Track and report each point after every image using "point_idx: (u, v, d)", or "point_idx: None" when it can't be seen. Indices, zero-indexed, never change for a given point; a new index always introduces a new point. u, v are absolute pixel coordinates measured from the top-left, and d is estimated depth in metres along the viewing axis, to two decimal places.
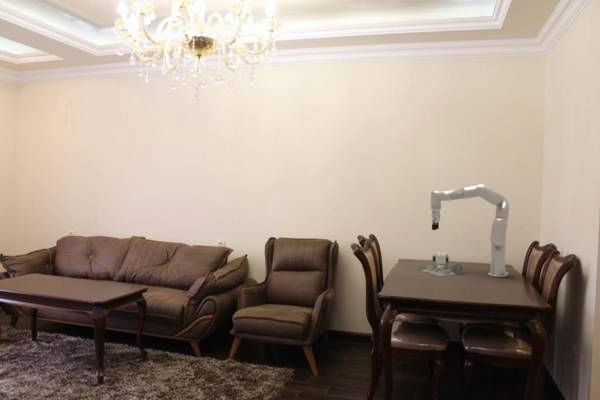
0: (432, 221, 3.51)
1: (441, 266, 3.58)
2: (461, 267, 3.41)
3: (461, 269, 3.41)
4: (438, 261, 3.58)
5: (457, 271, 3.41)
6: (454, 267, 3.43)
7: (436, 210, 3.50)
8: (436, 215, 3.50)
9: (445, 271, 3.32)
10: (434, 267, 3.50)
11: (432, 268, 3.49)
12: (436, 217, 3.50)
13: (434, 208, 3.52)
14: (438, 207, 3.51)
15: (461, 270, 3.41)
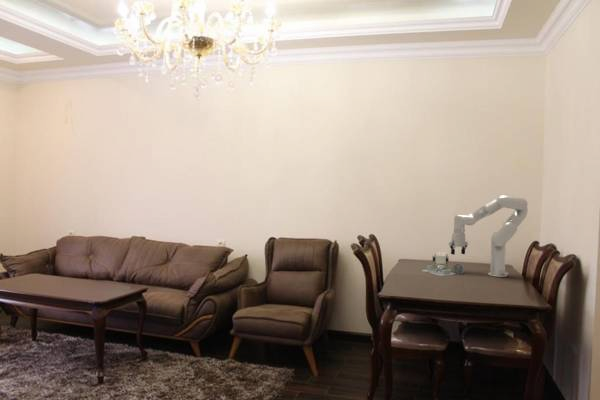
0: (464, 245, 3.44)
1: (441, 266, 3.58)
2: (461, 267, 3.41)
3: (461, 269, 3.41)
4: (438, 261, 3.58)
5: (457, 271, 3.41)
6: (454, 267, 3.43)
7: None
8: None
9: (445, 271, 3.32)
10: (434, 267, 3.50)
11: (432, 268, 3.49)
12: None
13: None
14: None
15: (461, 270, 3.41)
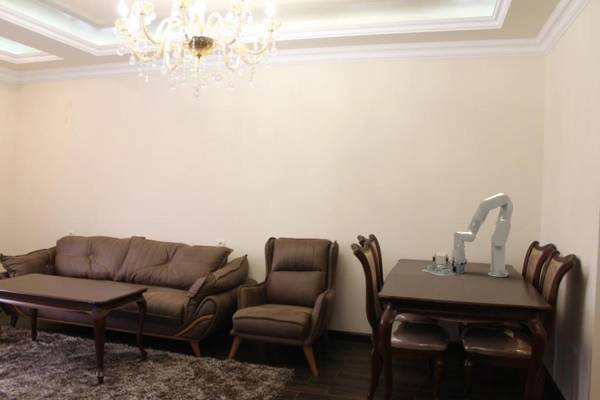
0: (464, 262, 3.44)
1: (441, 266, 3.58)
2: (461, 267, 3.41)
3: (461, 269, 3.41)
4: (438, 261, 3.58)
5: (457, 271, 3.41)
6: None
7: None
8: None
9: (445, 271, 3.32)
10: (434, 267, 3.50)
11: (432, 268, 3.49)
12: None
13: None
14: None
15: (461, 270, 3.41)
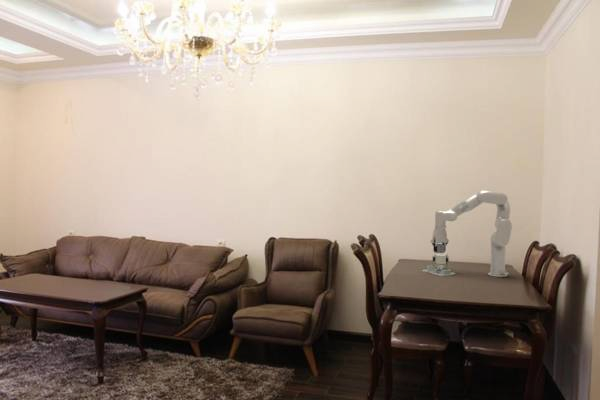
0: (445, 242, 3.42)
1: (441, 266, 3.58)
2: (442, 247, 3.38)
3: (441, 249, 3.38)
4: (438, 261, 3.58)
5: (438, 251, 3.39)
6: None
7: None
8: None
9: (445, 271, 3.32)
10: (434, 267, 3.50)
11: (432, 268, 3.49)
12: None
13: None
14: None
15: (442, 250, 3.39)
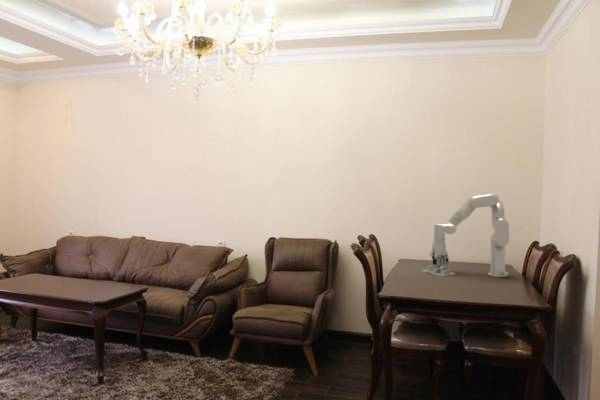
0: (444, 255, 3.42)
1: (441, 266, 3.58)
2: (441, 259, 3.39)
3: (441, 262, 3.39)
4: None
5: (437, 263, 3.39)
6: None
7: None
8: None
9: (445, 271, 3.32)
10: (434, 267, 3.50)
11: (432, 268, 3.49)
12: None
13: None
14: None
15: (441, 262, 3.39)
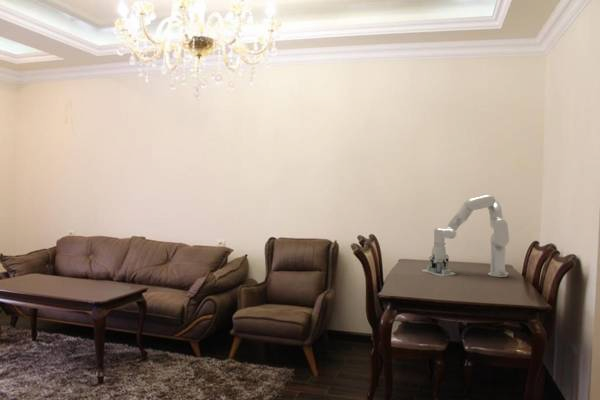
0: (445, 259, 3.43)
1: None
2: (441, 265, 3.39)
3: (441, 267, 3.39)
4: (438, 261, 3.58)
5: (437, 269, 3.39)
6: (435, 265, 3.41)
7: None
8: None
9: (445, 271, 3.32)
10: None
11: (432, 268, 3.49)
12: None
13: None
14: None
15: (441, 268, 3.39)
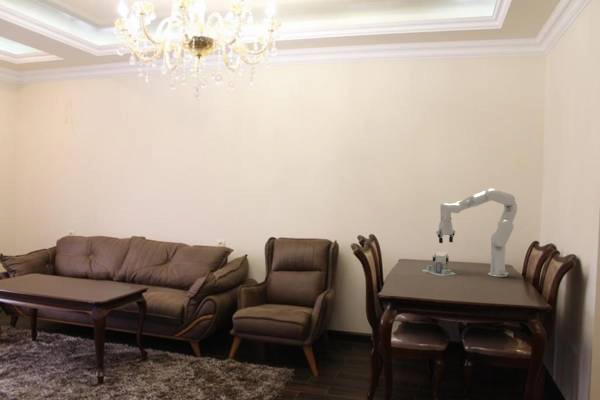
0: (452, 233, 3.46)
1: None
2: (441, 265, 3.39)
3: (441, 267, 3.39)
4: (438, 261, 3.58)
5: (437, 269, 3.39)
6: (435, 265, 3.41)
7: None
8: None
9: (445, 271, 3.32)
10: None
11: (432, 268, 3.49)
12: None
13: None
14: None
15: (441, 268, 3.39)
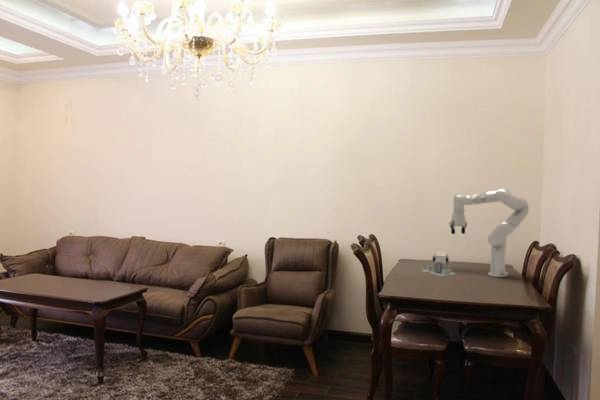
0: (464, 225, 3.54)
1: None
2: (441, 265, 3.39)
3: (441, 267, 3.39)
4: (438, 261, 3.58)
5: (437, 269, 3.39)
6: (435, 265, 3.41)
7: None
8: None
9: (445, 271, 3.32)
10: None
11: (432, 268, 3.49)
12: None
13: None
14: None
15: (441, 268, 3.39)
